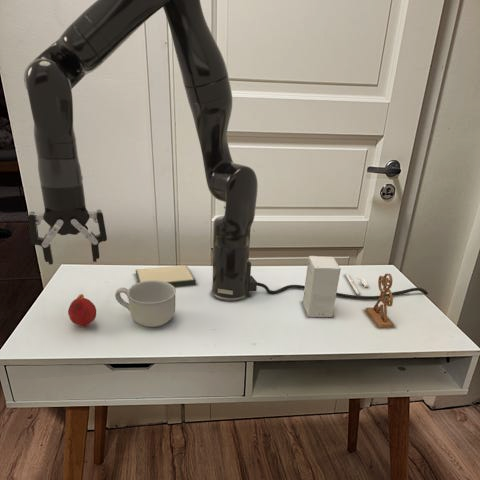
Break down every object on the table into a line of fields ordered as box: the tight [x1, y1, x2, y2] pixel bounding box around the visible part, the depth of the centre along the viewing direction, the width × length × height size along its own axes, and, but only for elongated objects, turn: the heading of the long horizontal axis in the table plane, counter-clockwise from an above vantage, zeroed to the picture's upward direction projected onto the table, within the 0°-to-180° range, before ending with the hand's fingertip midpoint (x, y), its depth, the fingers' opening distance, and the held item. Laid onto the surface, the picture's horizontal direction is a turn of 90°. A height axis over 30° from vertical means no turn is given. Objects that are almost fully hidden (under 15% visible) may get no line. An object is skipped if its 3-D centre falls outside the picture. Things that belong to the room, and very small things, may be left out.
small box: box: [302, 255, 342, 318], centre depth 106 cm, size 8×6×13 cm
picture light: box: [345, 273, 369, 296], centre depth 124 cm, size 14×4×2 cm, turn 1°
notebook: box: [135, 264, 197, 288], centre depth 121 cm, size 15×11×2 cm
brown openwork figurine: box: [364, 273, 395, 329], centre depth 104 cm, size 9×4×12 cm, turn 7°
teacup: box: [114, 280, 177, 328], centre depth 99 cm, size 14×11×8 cm
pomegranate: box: [67, 293, 97, 328], centre depth 95 cm, size 6×6×8 cm
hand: (73, 261), depth 89 cm, fingers open, 8 cm apart
